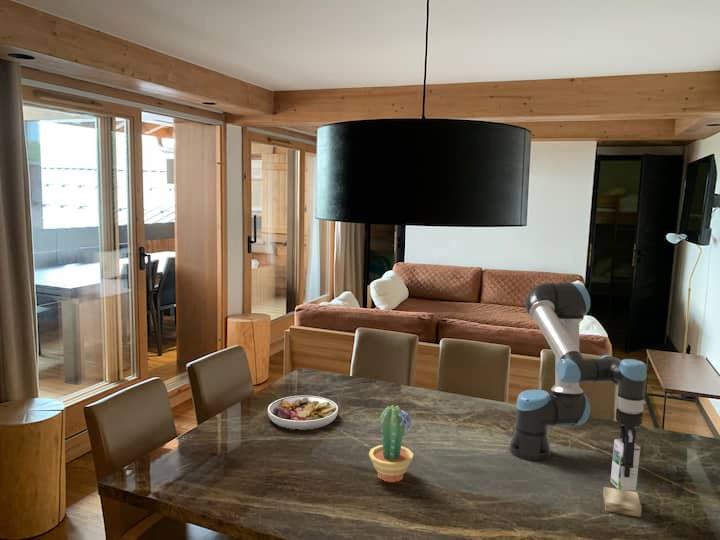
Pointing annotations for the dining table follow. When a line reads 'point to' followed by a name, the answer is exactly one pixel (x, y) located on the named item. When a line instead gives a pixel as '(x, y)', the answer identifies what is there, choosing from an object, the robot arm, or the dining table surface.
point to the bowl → (302, 412)
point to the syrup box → (617, 468)
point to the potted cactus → (392, 445)
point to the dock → (622, 501)
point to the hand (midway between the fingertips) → (623, 479)
